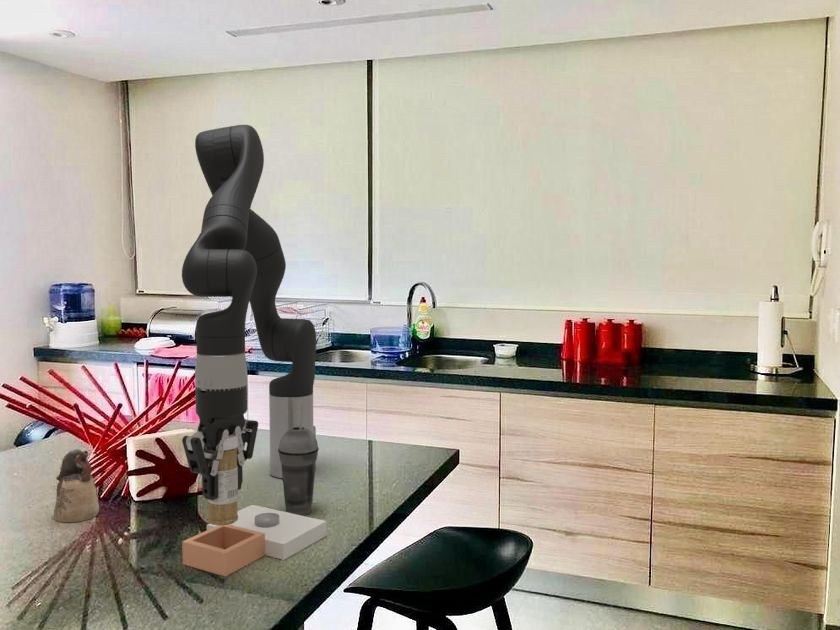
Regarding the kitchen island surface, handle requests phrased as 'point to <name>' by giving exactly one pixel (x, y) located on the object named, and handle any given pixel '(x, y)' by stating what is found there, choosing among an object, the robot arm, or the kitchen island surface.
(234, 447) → the sprinkles bottle
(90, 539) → the kitchen island surface
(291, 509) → the beverage cup
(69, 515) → the figurine
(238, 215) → the robot arm
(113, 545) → the kitchen island surface
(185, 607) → the kitchen island surface
